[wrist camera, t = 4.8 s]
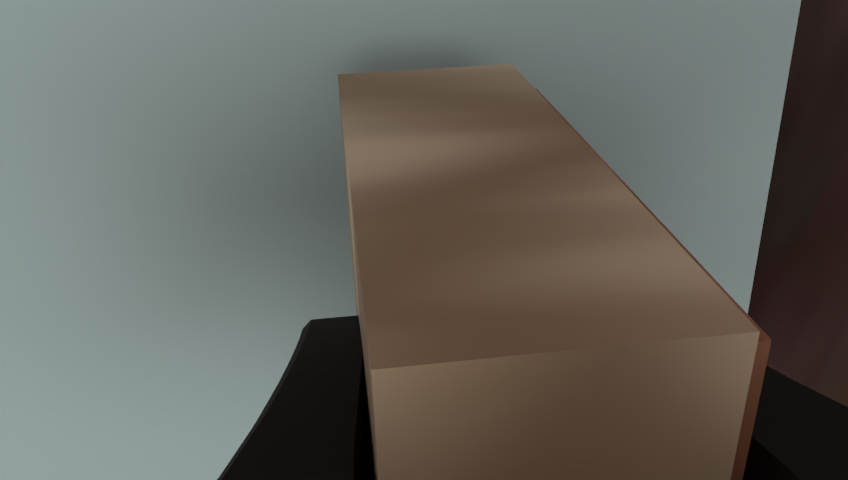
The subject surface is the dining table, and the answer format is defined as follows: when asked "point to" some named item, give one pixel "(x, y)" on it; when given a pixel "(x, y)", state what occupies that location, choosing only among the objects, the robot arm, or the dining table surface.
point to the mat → (300, 187)
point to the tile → (528, 297)
